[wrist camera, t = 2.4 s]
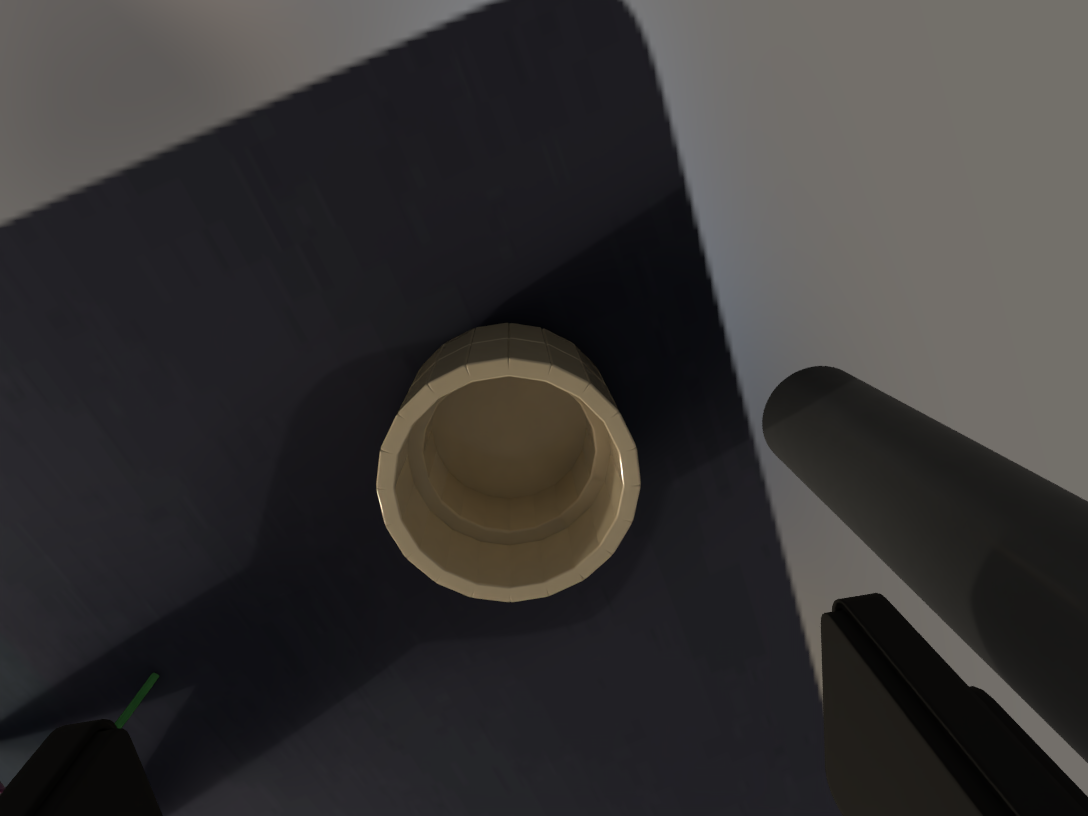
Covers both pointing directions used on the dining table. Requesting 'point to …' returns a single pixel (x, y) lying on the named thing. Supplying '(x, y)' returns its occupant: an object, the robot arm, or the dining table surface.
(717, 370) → the dining table surface
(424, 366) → the tan faceted cup
